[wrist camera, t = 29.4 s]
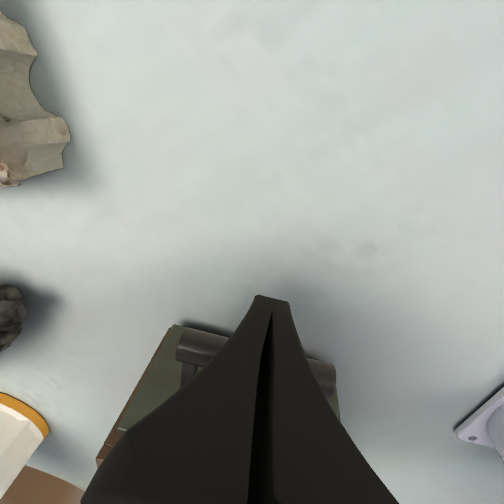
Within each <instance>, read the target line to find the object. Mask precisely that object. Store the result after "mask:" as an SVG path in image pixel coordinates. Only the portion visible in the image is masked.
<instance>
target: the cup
mask: <svg viewBox="0 0 504 504" xmlns="http://www.w3.org/2000/svg"><path fill="white" fill-rule="evenodd" d="M48 432H49V428H48V425H47V423H46V421H45V420H44V419H43V418H42V417H41V416H40V415H39V414H38V413H37V412H36V411H35V410H34V409H32V408H31V407H29V406H28V405H26V404H24V403H23V402H21V401H19V400H17V399H15V398H13V397H11V396H8V395H6V394H3V393H0V499H1V498H2V496H3V495H4V493H5V492H6V491H7V489H8V488H9V486H10V485H11V484H12V482H13V481H14V479H15V478H16V477H17V475H18V474H19V472H20V471H21V470H22V468H23V467H24V465H25V464H26V463H27V461H28V460H29V458H30V457H31V456H32V454H33V453H34V451H35V450H36V448H37V447H38V446H39V444H41V443H42V441H43V440H44V438H45V437H46V436H47V434H48Z"/></svg>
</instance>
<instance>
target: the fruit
mask: <svg viewBox="0 0 504 504" xmlns="http://www.w3.org/2000/svg"><path fill="white" fill-rule="evenodd" d="M22 300H23V295H22V293H21V292H20V290H19V289H18V288H15V287H13V286H10V285H0V352H1V351H2V350H4V349H6V348H7V347H9V346H10V345H11V343H12V342H13V341H14V340H15V338H16V337H17V336H18V335H19V334H20V333H21V330H22V327H21V325H22V323H23V322H24V320H25V318H26V317H27V313H26V309H25V307H24V306H23V305H21V303H22Z"/></svg>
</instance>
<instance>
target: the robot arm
mask: <svg viewBox="0 0 504 504" xmlns="http://www.w3.org/2000/svg"><path fill="white" fill-rule="evenodd" d="M455 434H456V436H457V437H458V438H459V439H461V440H465V441H469V442H473V443H476V444H480V445H484V446H488V447H492V448H495V449H497V451H498V453H499V454H500V456H501V458H502V460H503V462H504V387H503V388H502V389H501V390H500V391H498V392H497V393H496V394H495V395H494V396H493V397H492V398H490V399H489V400H488V401H487V402H486V403H485V404H484V405H483V406H481V407H480V408H479V409H478V410H477V411H476V412H475V413H473V414H472V415H471V416H470V417H469V418H468V419H467V420H466V421H464V422H463V423H462V424H461V425H460V426H459V427H458V428H456V430H455ZM81 504H399V503H398V502H397V500H396V499H395V498H394V496H393V495H392V494H391V493H390V491H389V490H388V489H387V487H386V486H385V485H384V484H383V482H382V481H381V480H380V478H379V477H378V476H377V475H376V473H375V472H374V471H373V469H372V468H371V467H370V465H369V464H368V463H367V461H366V460H365V458H364V457H363V455H362V454H361V453H360V451H359V450H358V448H357V447H356V445H355V444H354V442H353V441H352V439H351V438H350V436H349V435H348V433H347V431H346V430H345V428H344V427H343V425H342V424H341V422H340V420H339V419H338V417H337V416H336V414H335V413H334V411H333V409H332V407H331V406H330V404H329V402H328V400H327V399H326V397H325V395H324V393H323V391H322V389H321V387H320V385H319V384H318V382H317V380H316V377H315V375H314V373H313V371H312V369H311V367H310V364H309V362H308V360H307V358H306V355H305V353H304V350H303V348H302V345H301V342H300V339H299V337H298V334H297V331H296V328H295V325H294V321H293V318H292V314H291V310H290V305H289V303H288V302H286V301H282V300H278V299H274V298H270V297H266V296H262V295H256V296H255V297H254V300H253V303H252V305H251V307H250V309H249V311H248V312H247V314H246V316H245V317H244V319H243V320H242V322H241V323H240V325H239V326H238V328H237V329H236V330H235V332H234V333H233V334H232V336H231V337H230V338H229V339H228V341H227V342H226V343H225V344H224V346H223V347H222V348H221V349H220V350H219V351H218V352H217V354H216V355H215V356H214V357H213V358H212V359H211V360H210V361H209V362H208V363H207V364H206V365H205V366H204V367H203V368H202V369H201V370H200V371H199V372H198V373H197V374H196V375H195V376H194V377H193V378H192V379H191V380H189V381H188V382H187V383H186V384H185V385H184V386H183V387H181V388H180V389H179V390H178V391H177V392H175V393H174V394H173V395H172V396H171V397H169V398H168V399H167V400H166V401H165V402H163V403H162V404H161V405H160V406H158V407H157V408H156V409H154V410H153V411H152V412H150V413H149V414H147V415H146V416H145V417H143V418H142V419H141V420H139V421H138V422H137V423H135V424H134V425H132V426H131V427H130V428H128V429H127V430H126V432H125V433H124V434H123V435H122V436H121V438H120V439H119V440H118V441H117V443H116V444H115V445H114V446H113V448H112V449H111V450H110V452H109V453H108V454H107V456H106V457H105V459H104V460H103V462H102V463H101V465H100V466H99V468H98V469H97V471H96V473H95V475H94V477H93V478H92V480H91V482H90V484H89V486H88V488H87V489H86V491H85V493H84V495H83V497H82V499H81Z"/></svg>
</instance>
